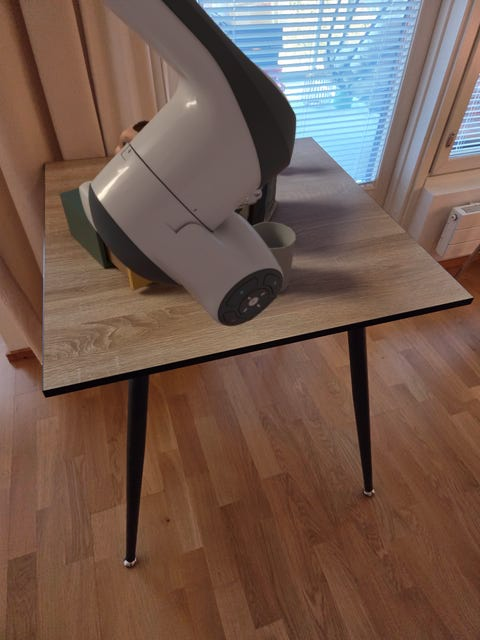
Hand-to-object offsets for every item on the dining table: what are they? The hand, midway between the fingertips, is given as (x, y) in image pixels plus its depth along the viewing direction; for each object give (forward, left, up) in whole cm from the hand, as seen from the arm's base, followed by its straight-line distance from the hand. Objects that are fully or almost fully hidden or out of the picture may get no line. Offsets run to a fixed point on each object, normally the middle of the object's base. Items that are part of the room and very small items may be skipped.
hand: (149, 166), depth 55 cm
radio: (+30, +10, -25) cm, 40 cm away
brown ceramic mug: (+24, +39, -25) cm, 52 cm away
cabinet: (+3, +23, -25) cm, 34 cm away
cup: (+19, -6, -25) cm, 32 cm away
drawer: (+3, +10, -24) cm, 26 cm away
